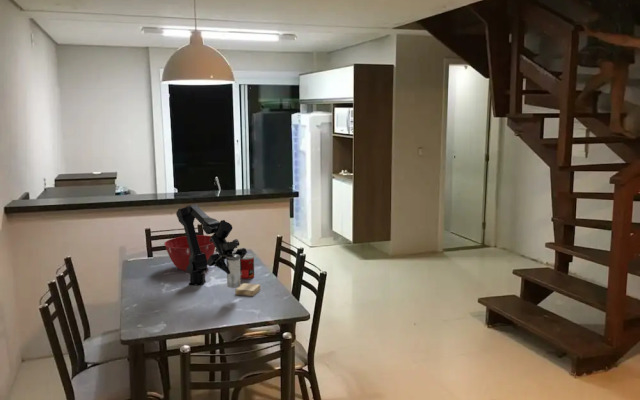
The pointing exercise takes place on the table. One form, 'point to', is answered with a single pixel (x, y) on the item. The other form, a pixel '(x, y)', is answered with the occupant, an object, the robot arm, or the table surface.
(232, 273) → the canister
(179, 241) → the mixing bowl
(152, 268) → the table surface
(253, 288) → the oak board
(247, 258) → the canned food
